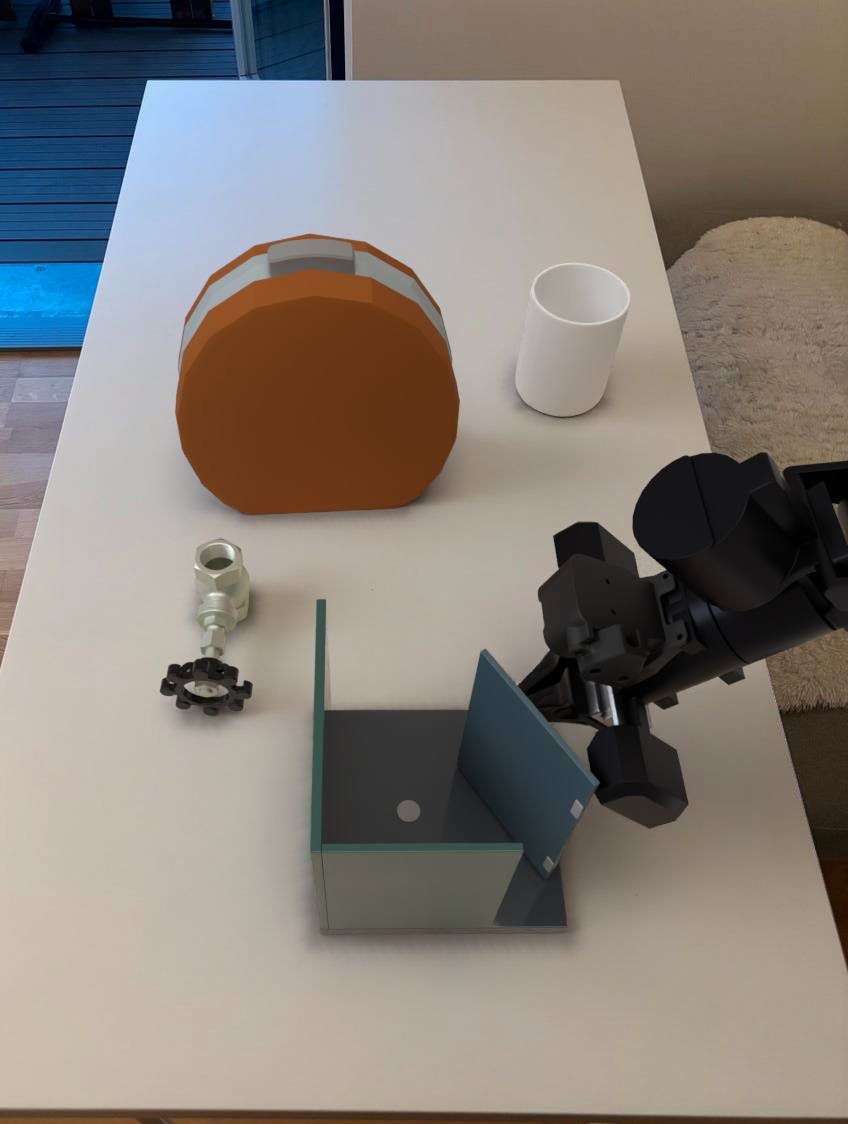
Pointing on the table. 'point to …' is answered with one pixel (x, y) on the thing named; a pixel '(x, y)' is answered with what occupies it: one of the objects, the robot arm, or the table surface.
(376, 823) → the shower stall
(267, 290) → the alarm clock
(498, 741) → the shower door
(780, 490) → the robot arm
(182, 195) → the table surface
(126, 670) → the table surface
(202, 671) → the valve
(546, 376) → the mug
